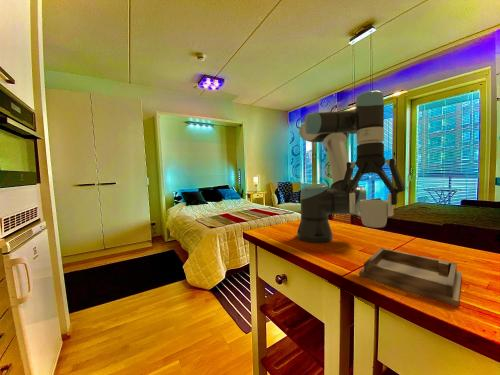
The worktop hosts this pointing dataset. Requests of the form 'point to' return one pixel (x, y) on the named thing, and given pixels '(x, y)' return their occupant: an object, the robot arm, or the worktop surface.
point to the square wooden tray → (415, 274)
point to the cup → (373, 212)
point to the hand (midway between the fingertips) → (370, 213)
